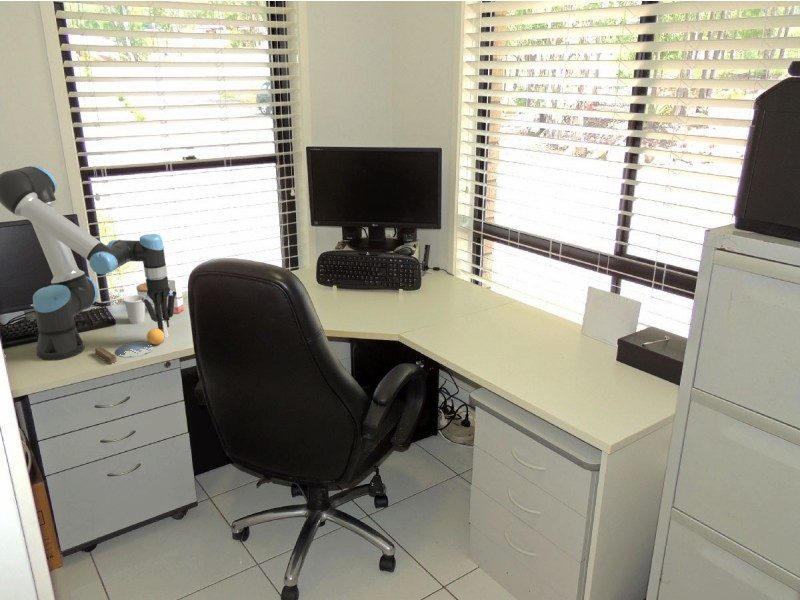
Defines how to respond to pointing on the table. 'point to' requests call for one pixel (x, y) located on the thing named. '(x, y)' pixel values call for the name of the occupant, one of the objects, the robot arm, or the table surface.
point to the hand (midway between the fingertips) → (164, 336)
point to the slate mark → (133, 347)
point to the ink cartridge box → (178, 298)
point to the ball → (155, 336)
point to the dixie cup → (135, 308)
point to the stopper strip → (105, 355)
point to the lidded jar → (143, 291)
